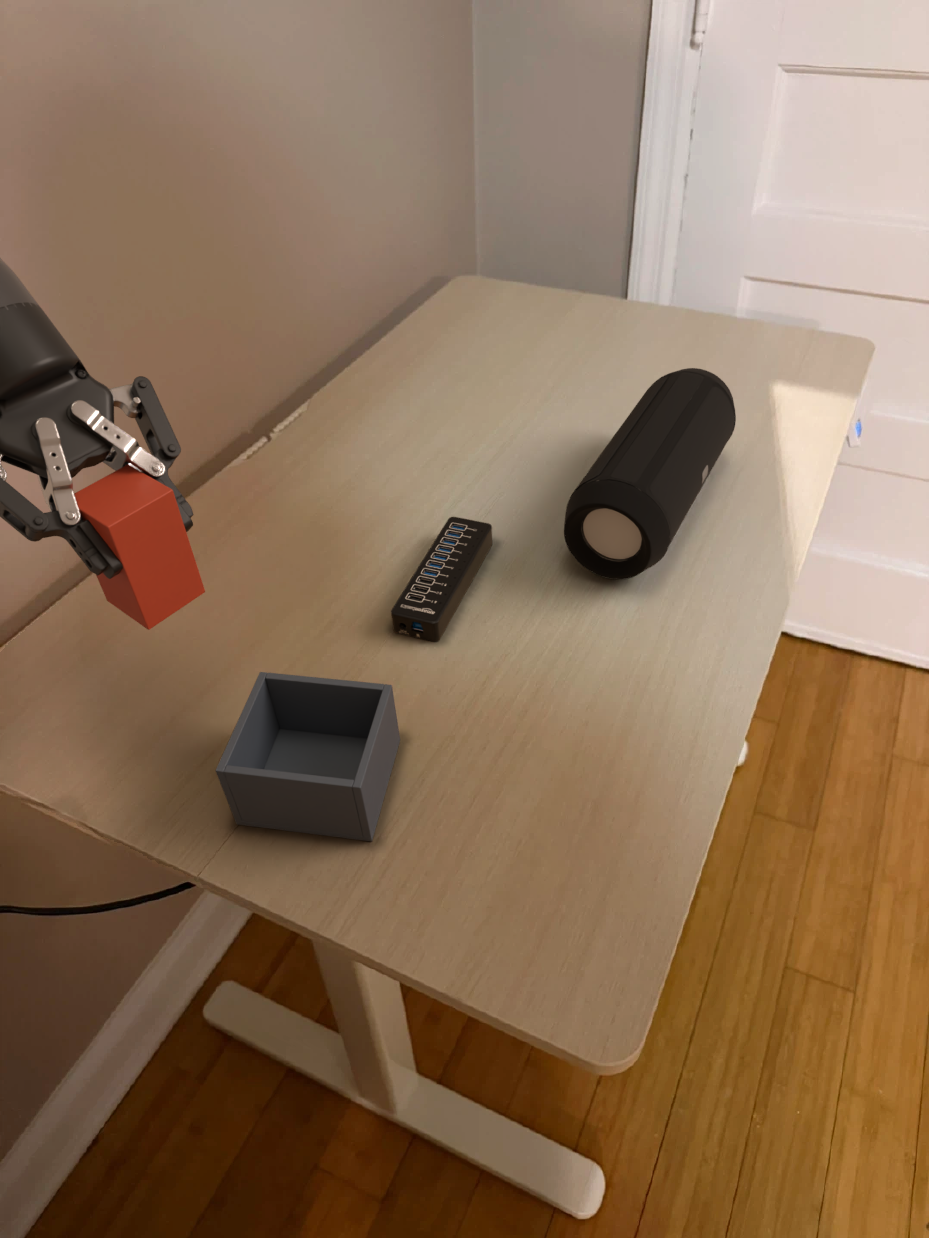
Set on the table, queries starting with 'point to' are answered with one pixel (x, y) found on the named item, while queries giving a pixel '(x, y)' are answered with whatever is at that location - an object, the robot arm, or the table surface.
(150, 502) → the block
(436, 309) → the table surface
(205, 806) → the table surface
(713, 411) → the portable speaker
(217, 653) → the table surface
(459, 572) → the multiport hub
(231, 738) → the tub
